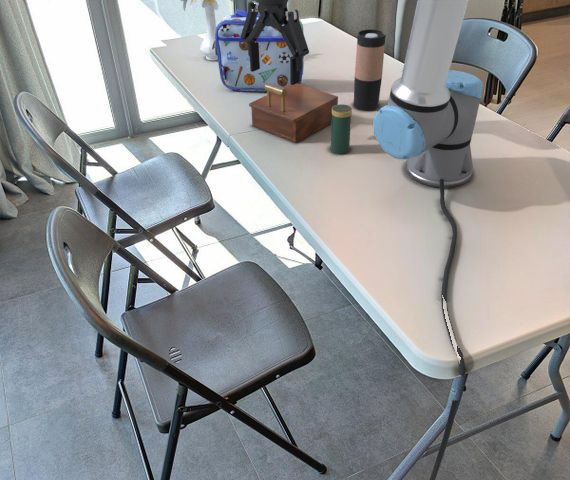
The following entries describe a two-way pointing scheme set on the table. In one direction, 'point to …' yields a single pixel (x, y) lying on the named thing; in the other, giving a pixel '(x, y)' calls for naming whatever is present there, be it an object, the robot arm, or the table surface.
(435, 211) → the table surface
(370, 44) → the travel mug
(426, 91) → the robot arm
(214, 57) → the flower vase
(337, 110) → the tea tin
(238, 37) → the lunch box
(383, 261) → the table surface
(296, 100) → the case lid
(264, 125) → the case
